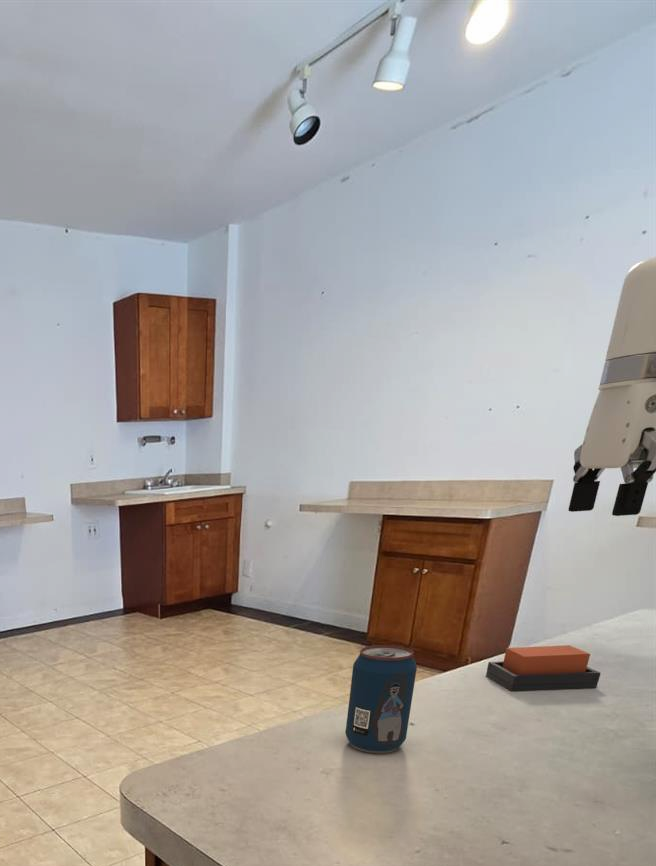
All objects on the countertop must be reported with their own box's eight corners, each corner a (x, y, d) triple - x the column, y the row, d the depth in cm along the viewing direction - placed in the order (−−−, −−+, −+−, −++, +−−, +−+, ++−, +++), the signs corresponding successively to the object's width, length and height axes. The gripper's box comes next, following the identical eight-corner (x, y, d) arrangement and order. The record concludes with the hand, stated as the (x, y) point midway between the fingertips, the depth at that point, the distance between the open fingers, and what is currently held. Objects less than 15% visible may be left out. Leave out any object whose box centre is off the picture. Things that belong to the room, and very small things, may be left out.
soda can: (366, 729, 84) (377, 640, 79) (416, 745, 79) (431, 650, 74) (332, 743, 81) (342, 651, 76) (382, 760, 76) (396, 662, 71)
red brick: (563, 670, 98) (569, 645, 96) (583, 680, 93) (590, 653, 92) (500, 673, 99) (506, 648, 97) (518, 682, 94) (524, 656, 93)
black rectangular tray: (565, 672, 99) (568, 658, 98) (596, 688, 92) (601, 672, 92) (485, 676, 101) (488, 661, 100) (511, 691, 94) (514, 676, 93)
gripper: (722, 360, 75) (676, 514, 82) (623, 379, 91) (591, 507, 98) (653, 366, 76) (613, 519, 83) (566, 384, 92) (539, 511, 99)
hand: (601, 512), depth 91 cm, fingers open, 9 cm apart
